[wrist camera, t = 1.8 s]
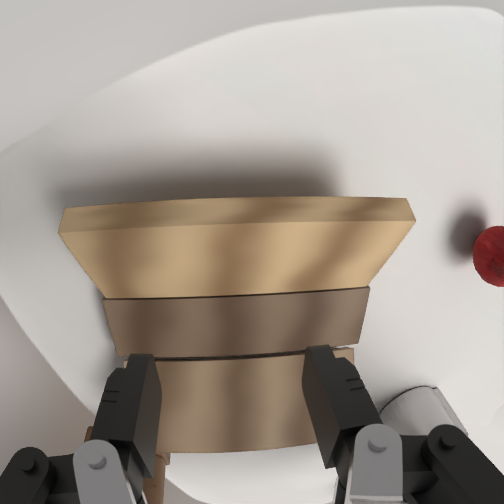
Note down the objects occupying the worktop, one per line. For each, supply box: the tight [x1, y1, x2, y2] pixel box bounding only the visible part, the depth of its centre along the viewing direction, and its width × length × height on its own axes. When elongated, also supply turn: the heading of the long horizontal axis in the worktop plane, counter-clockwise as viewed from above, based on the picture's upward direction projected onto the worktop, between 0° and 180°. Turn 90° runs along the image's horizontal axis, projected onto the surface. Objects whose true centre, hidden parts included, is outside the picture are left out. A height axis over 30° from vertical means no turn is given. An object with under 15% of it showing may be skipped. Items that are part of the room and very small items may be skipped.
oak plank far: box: [123, 347, 354, 453], centre depth 27 cm, size 21×9×2 cm
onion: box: [473, 226, 504, 287], centre depth 24 cm, size 6×6×8 cm
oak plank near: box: [58, 196, 416, 298], centre depth 21 cm, size 21×9×2 cm
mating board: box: [102, 285, 370, 357], centre depth 27 cm, size 22×6×2 cm, turn 90°
